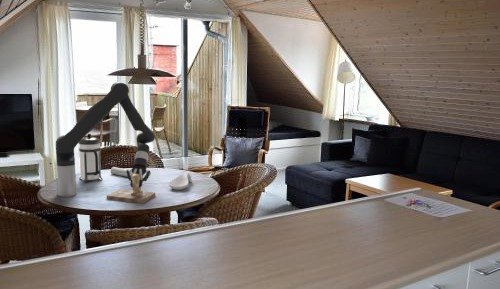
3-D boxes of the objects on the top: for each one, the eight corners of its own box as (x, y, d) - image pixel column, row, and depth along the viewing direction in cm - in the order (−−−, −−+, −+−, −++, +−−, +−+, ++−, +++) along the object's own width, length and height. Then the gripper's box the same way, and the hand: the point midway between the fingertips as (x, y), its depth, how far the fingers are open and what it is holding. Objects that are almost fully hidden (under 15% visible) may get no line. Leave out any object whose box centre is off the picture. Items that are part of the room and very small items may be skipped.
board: (106, 199, 227) (106, 195, 226) (120, 192, 240) (120, 188, 240) (142, 203, 221) (142, 199, 221) (155, 196, 235) (155, 192, 234)
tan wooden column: (131, 195, 228) (130, 175, 226) (133, 192, 233) (133, 173, 231) (140, 195, 228) (139, 176, 226) (142, 192, 233) (142, 173, 231)
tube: (144, 172, 273) (117, 167, 284) (139, 171, 268) (111, 166, 280) (143, 180, 272) (115, 174, 284) (137, 179, 267) (109, 174, 279)
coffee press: (72, 182, 258) (70, 134, 253) (86, 176, 273) (85, 131, 268) (98, 184, 255) (96, 136, 250) (111, 178, 270) (109, 132, 265)
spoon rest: (184, 192, 244) (184, 180, 243) (165, 191, 246) (165, 179, 245) (196, 182, 267) (196, 171, 266) (179, 181, 269) (179, 170, 268)
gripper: (127, 156, 235) (121, 183, 225) (152, 157, 235) (147, 183, 225) (130, 163, 241) (124, 189, 231) (154, 164, 241) (149, 190, 231)
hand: (135, 186), depth 228 cm, fingers closed on tan wooden column, 3 cm apart
